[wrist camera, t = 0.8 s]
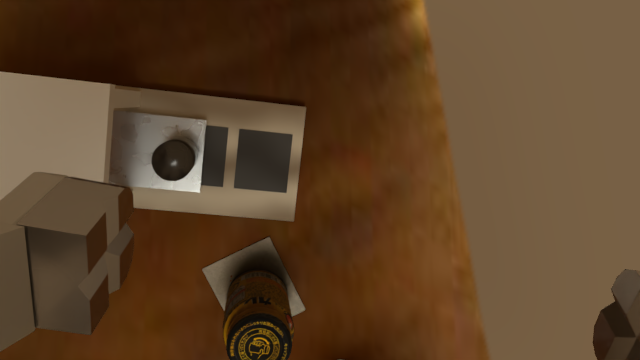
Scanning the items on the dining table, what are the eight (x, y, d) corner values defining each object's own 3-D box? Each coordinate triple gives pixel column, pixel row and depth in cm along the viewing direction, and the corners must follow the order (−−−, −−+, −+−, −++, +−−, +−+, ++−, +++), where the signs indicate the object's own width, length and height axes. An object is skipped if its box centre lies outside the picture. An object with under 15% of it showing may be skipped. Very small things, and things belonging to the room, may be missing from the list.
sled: (200, 190, 54) (193, 204, 47) (-79, 165, 50) (-131, 175, 43) (206, 119, 53) (201, 122, 46) (-77, 89, 49) (-129, 87, 43)
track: (292, 218, 57) (293, 221, 55) (-178, 177, 51) (-191, 180, 50) (304, 106, 56) (306, 106, 54) (-177, 51, 50) (-191, 50, 48)
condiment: (240, 341, 58) (238, 402, 46) (202, 268, 57) (190, 312, 45) (305, 308, 58) (320, 361, 47) (269, 235, 57) (275, 271, 45)
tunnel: (133, 207, 53) (99, 239, 41) (-5, 195, 52) (-83, 225, 39) (142, 88, 52) (110, 84, 40) (1, 72, 50) (-78, 62, 38)
